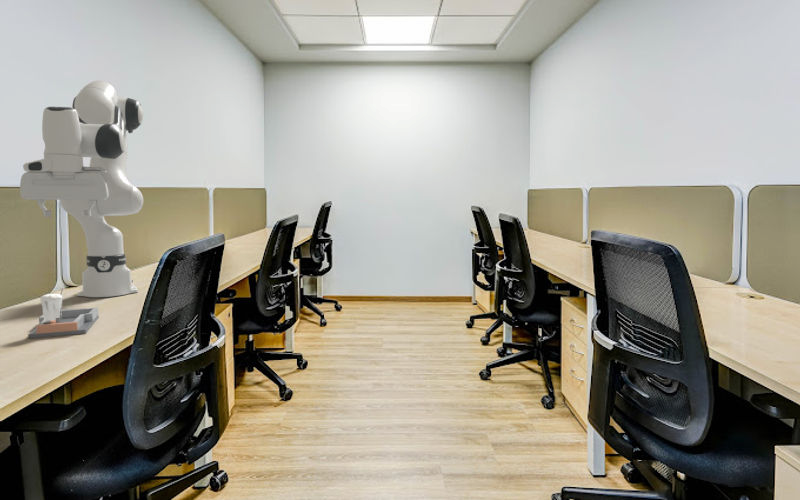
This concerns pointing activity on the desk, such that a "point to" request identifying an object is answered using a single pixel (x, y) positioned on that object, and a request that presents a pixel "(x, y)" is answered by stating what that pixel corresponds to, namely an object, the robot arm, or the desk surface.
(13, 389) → the desk surface
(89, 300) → the desk surface
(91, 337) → the desk surface
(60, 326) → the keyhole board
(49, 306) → the milkshake
